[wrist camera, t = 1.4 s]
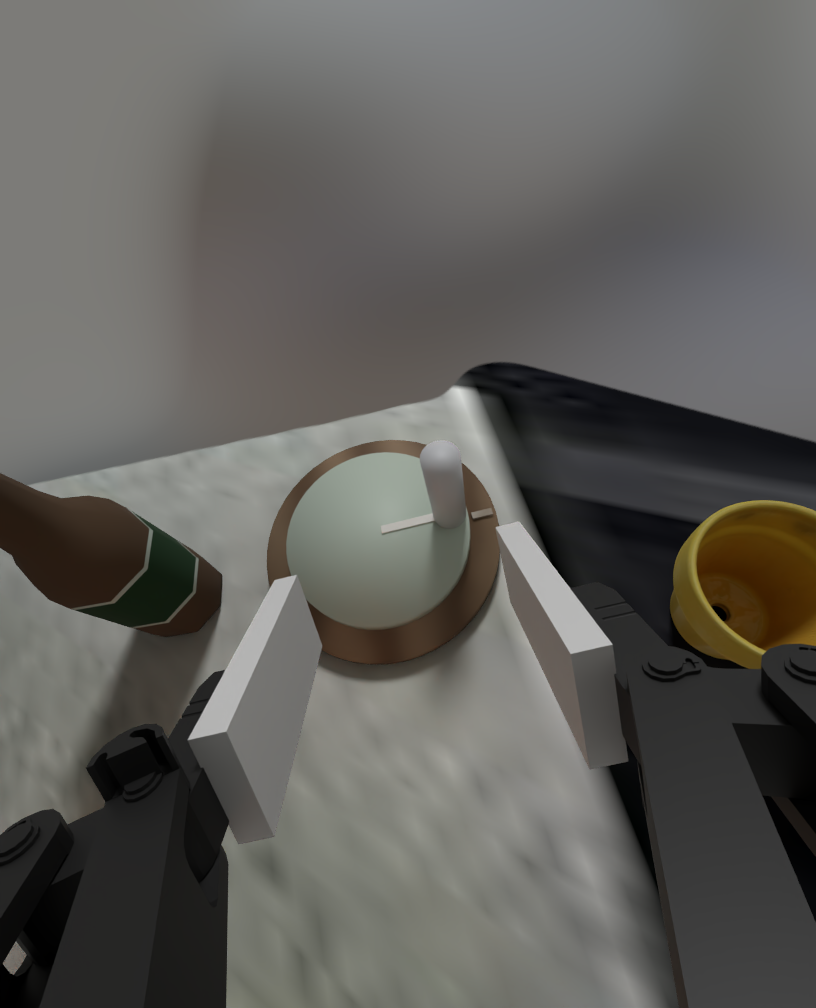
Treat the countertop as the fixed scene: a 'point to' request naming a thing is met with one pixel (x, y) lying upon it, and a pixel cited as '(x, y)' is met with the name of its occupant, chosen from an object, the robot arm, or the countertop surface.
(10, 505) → the beer bottle
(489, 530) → the walnut base
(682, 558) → the plant pot
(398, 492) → the capstan dial
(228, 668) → the robot arm
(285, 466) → the countertop surface
